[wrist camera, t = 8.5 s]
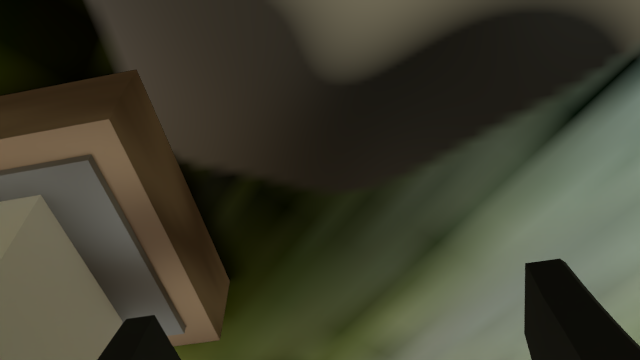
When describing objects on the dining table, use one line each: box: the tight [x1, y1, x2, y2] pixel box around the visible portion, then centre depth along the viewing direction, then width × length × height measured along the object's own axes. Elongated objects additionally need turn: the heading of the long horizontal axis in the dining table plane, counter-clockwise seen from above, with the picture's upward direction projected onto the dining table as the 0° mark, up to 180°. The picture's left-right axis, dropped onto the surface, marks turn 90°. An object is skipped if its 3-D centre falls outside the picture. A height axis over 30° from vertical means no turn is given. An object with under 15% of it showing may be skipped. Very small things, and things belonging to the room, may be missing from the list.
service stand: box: [0, 70, 230, 346], centre depth 21 cm, size 10×10×3 cm
